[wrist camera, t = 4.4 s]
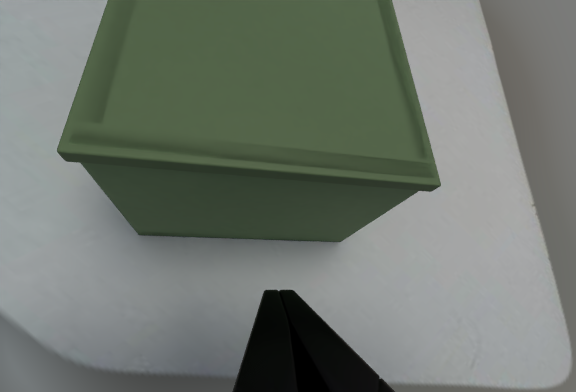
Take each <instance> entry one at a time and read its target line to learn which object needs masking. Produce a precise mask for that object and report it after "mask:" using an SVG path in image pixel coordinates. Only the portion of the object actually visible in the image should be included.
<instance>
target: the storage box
mask: <svg viewBox="0 0 576 392" xmlns="http://www.w3.org/2000/svg"><path fill="white" fill-rule="evenodd" d="M57 152H58V153H59V155H60V156H61V157H62V158H63V159H64V160H65V161H68V162H80V163H81V164H82V165H83V166H84V168H85V169H86V170H87V171H88V173H89V174H90V175H91V176H92V178H93V179H94V180H95V181H96V183H97V184H98V185H99V186H100V187H101V189H102V190H103V191H104V192H105V194H106V195H107V196H108V197H109V199H110V200H111V201H112V202H113V204H114V205H115V206H116V207H117V208H118V210H119V211H120V212H121V213H122V215H123V216H124V217H125V218H126V220H127V221H128V222H129V223H130V225H131V226H132V227H133V228H134V229H135V231H136V232H137V233H138V234H139V235H154V236H183V237H211V238H240V239H269V240H298V241H327V242H341V241H342V240H344V239H346V238H347V237H349V236H350V235H352V234H353V233H355V232H356V231H358V230H359V229H361V228H363V227H364V226H366V225H367V224H369V223H370V222H372V221H373V220H375V219H376V218H378V217H380V216H381V215H383V214H384V213H386V212H387V211H389V210H390V209H392V208H393V207H395V206H397V205H398V204H400V203H401V202H403V201H404V200H406V199H407V198H409V197H410V196H412V195H414V194H415V193H417V192H418V191H429V192H431V191H433V190H435V189H436V188H438V187H440V186H441V183H440V179H439V175H438V171H437V168H436V164H435V160H434V156H433V153H432V149H431V145H430V141H429V138H428V134H427V130H426V126H425V123H424V119H423V115H422V111H421V108H420V104H419V100H418V96H417V93H416V89H415V85H414V81H413V78H412V74H411V70H410V66H409V63H408V59H407V55H406V51H405V48H404V44H403V40H402V37H401V33H400V29H399V25H398V22H397V18H396V14H395V10H394V7H393V3H392V0H108V2H107V5H106V8H105V11H104V13H103V16H102V19H101V22H100V25H99V28H98V31H97V34H96V37H95V40H94V43H93V46H92V49H91V52H90V54H89V57H88V60H87V63H86V66H85V69H84V72H83V75H82V78H81V81H80V84H79V87H78V90H77V93H76V95H75V98H74V101H73V104H72V107H71V110H70V113H69V116H68V119H67V122H66V125H65V128H64V131H63V134H62V136H61V139H60V142H59V145H58V148H57Z"/></svg>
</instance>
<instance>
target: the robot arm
mask: <svg viewBox="0 0 576 392" xmlns="http://www.w3.org/2000/svg"><path fill="white" fill-rule="evenodd" d="M233 392H395V391H394V390H393V389H392V388H391V387H390V386H389V385H388V384H387V383H386V382H385V381H384V380H383V379H379V375H378V374H377V373H376V372H375V371H374V370H373V369H372V368H371V367H370V366H369V365H368V364H367V363H366V362H365V361H364V360H363V359H362V358H361V357H360V356H359V355H358V354H357V353H356V352H355V351H354V350H353V349H352V348H351V347H350V346H349V345H348V344H347V343H346V342H345V341H344V340H343V339H342V338H341V337H340V336H339V335H338V334H337V333H336V332H335V331H334V330H333V329H332V328H331V327H330V326H329V325H328V324H327V323H326V322H325V321H324V320H323V319H322V318H321V317H320V316H319V315H318V314H317V313H316V312H315V311H314V310H313V309H312V308H311V307H310V306H309V305H308V304H307V303H306V302H305V301H304V300H303V299H302V298H301V297H300V296H299V295H298V294H297V293H296V292H295V291H293V290H280V291H278V290H265V291H264V293H263V296H262V299H261V302H260V306H259V309H258V312H257V315H256V318H255V322H254V325H253V328H252V331H251V334H250V338H249V341H248V344H247V347H246V350H245V353H244V357H243V360H242V363H241V366H240V369H239V373H238V376H237V379H236V382H235V385H234V389H233Z"/></svg>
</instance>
